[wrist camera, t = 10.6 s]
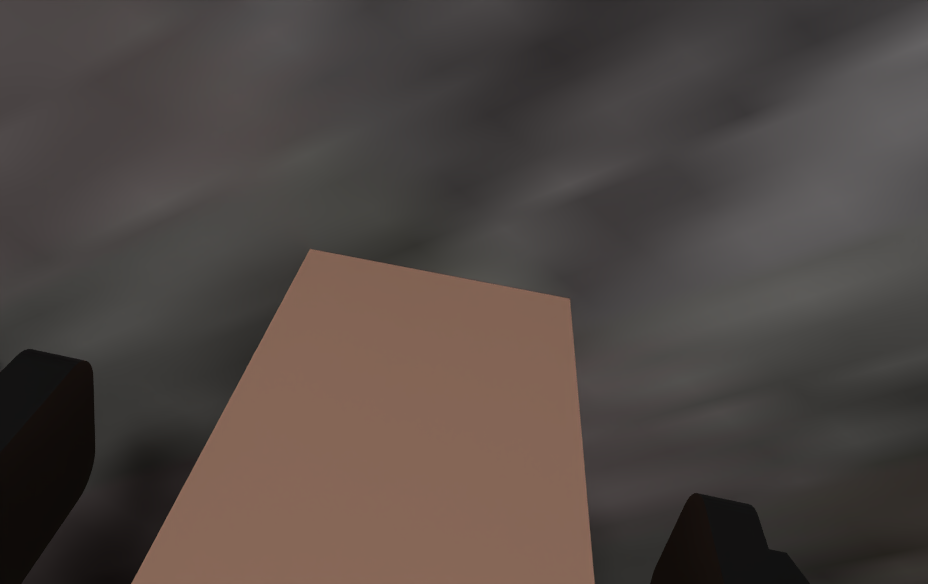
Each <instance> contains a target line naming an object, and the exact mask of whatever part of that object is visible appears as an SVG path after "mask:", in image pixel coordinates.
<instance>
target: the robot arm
mask: <svg viewBox="0 0 928 584" xmlns="http://www.w3.org/2000/svg"><path fill="white" fill-rule="evenodd" d="M94 457H95V424H94V386H93V370H92V367H91V365H90V363H89V362H87V361H84V360H80V359H75V358H70V357H66V356H61V355H56V354H51V353H47V352H42V351H37V350H33V349H27V350H24V351H22V352H21V353H19V354H18V355H17V356H16V357H15V358H14V359H13V360H12V361H11V362H10V363H9V364H8V365H7V366H6V367H5V368H4V369H3V370H2V371H1V372H0V584H21V583H22V582H23V580H24V579H25V577H26V576H27V574H28V573H29V571H30V570H31V568H32V567H33V565H34V564H35V562H36V561H37V560H38V558H39V557H40V555H41V554H42V552H43V551H44V549H45V548H46V546H47V545H48V543H49V542H50V541H51V539H52V538H53V536H54V535H55V533H56V532H57V530H58V529H59V527H60V526H61V524H62V523H63V522H64V520H65V519H66V517H67V516H68V514H69V513H70V511H71V510H72V508H73V507H74V505H75V504H76V502H77V501H78V500H79V498H80V496H81V495H82V493H83V491H84V489H85V487H86V485H87V482H88V480H89V477H90V474H91V471H92V467H93V462H94ZM651 584H810V583H809V582H808V580H807V579H806V578H805V577H804V575H803V574H802V573H801V571H800V570H799V569H798V567H797V566H796V565H795V563H794V562H793V561H792V560H791V558H790V557H789V556H788V554H787V553H784V552H780V551H775V550H770V549H769V548H768V545H767V542H766V539H765V536H764V533H763V530H762V527H761V523H760V520H759V517H758V514H757V512H756V510H755V509H754V507H753V506H752V505H749V504H745V503H740V502H736V501H731V500H726V499H722V498H717V497H712V496H708V495H703V494H698V493H694V494H692V495H691V496H690V497H689V499H688V500H687V502H686V504H685V506H684V508H683V510H682V512H681V514H680V516H679V518H678V520H677V523H676V525H675V527H674V529H673V531H672V533H671V535H670V538H669V540H668V542H667V544H666V546H665V548H664V550H663V552H662V555H661V557H660V559H659V561H658V563H657V565H656V567H655V570H654V573H653V576H652V579H651Z"/></svg>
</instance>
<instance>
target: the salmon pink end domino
mask: <svg viewBox="0 0 928 584" xmlns="http://www.w3.org/2000/svg"><path fill="white" fill-rule="evenodd" d="M131 584H595V582H594V571H593V559H592V548H591V536H590V525H589V513H588V502H587V490H586V479H585V467H584V456H583V444H582V433H581V421H580V410H579V398H578V387H577V375H576V364H575V352H574V341H573V329H572V318H571V306H570V299H569V298H563V297H558V296H553V295H548V294H543V293H537V292H532V291H527V290H522V289H516V288H511V287H506V286H501V285H495V284H490V283H485V282H480V281H475V280H469V279H464V278H459V277H454V276H448V275H443V274H438V273H433V272H427V271H422V270H417V269H412V268H407V267H401V266H396V265H391V264H386V263H380V262H375V261H370V260H365V259H360V258H354V257H349V256H344V255H339V254H333V253H328V252H323V251H318V250H312V249H310V250H309V252H308V254H307V256H306V258H305V260H304V261H303V263H302V265H301V267H300V269H299V271H298V273H297V275H296V276H295V278H294V280H293V282H292V284H291V286H290V288H289V290H288V291H287V293H286V295H285V297H284V299H283V301H282V303H281V305H280V306H279V308H278V310H277V312H276V314H275V316H274V318H273V320H272V321H271V323H270V325H269V327H268V329H267V331H266V333H265V334H264V336H263V338H262V340H261V342H260V344H259V346H258V348H257V349H256V351H255V353H254V355H253V357H252V359H251V361H250V363H249V364H248V366H247V368H246V370H245V372H244V374H243V376H242V378H241V379H240V381H239V383H238V385H237V387H236V389H235V391H234V393H233V394H232V396H231V398H230V400H229V402H228V404H227V406H226V408H225V409H224V411H223V413H222V415H221V417H220V419H219V421H218V422H217V424H216V426H215V428H214V430H213V432H212V434H211V436H210V437H209V439H208V441H207V443H206V445H205V447H204V449H203V451H202V452H201V454H200V456H199V458H198V460H197V462H196V464H195V466H194V467H193V469H192V471H191V473H190V475H189V477H188V479H187V481H186V482H185V484H184V486H183V488H182V490H181V492H180V494H179V495H178V497H177V499H176V501H175V503H174V505H173V507H172V509H171V510H170V512H169V514H168V516H167V518H166V520H165V522H164V524H163V525H162V527H161V529H160V531H159V533H158V535H157V537H156V539H155V540H154V542H153V544H152V546H151V548H150V550H149V552H148V554H147V555H146V557H145V559H144V561H143V563H142V565H141V567H140V569H139V570H138V572H137V574H136V576H135V578H134V580H133V582H132V583H131Z"/></svg>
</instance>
